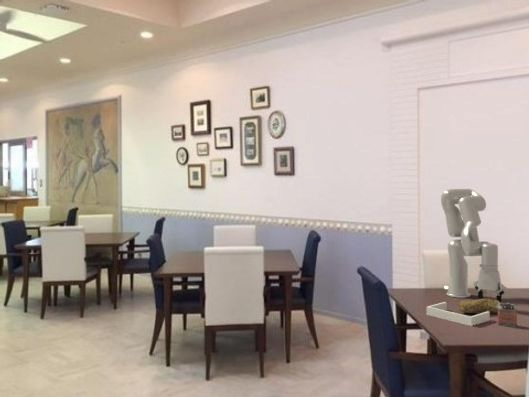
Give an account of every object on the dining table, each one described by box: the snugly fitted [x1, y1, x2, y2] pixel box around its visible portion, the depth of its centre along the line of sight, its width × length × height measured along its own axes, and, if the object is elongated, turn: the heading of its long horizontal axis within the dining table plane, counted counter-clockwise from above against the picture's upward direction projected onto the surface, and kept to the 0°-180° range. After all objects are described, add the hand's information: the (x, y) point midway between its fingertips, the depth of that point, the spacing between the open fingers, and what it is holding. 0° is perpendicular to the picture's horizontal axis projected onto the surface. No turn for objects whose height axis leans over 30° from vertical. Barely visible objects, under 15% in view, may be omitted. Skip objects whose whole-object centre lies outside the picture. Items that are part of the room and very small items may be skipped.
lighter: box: [497, 302, 518, 327], centre depth 230 cm, size 8×3×10 cm, turn 71°
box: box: [425, 301, 491, 327], centre depth 244 cm, size 24×15×4 cm, turn 36°
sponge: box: [458, 298, 502, 315], centre depth 251 cm, size 13×8×20 cm
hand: (489, 301), depth 260 cm, fingers open, 9 cm apart
